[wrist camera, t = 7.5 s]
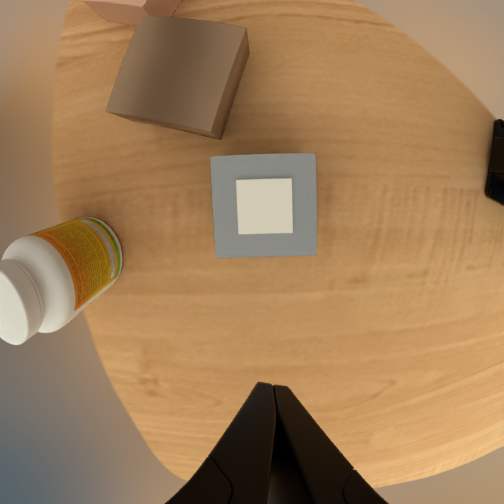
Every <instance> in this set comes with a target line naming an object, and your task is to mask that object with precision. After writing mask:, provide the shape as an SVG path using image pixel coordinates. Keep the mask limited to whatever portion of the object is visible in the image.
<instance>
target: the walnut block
mask: <svg viewBox="0 0 504 504" xmlns="http://www.w3.org/2000/svg"><path fill="white" fill-rule="evenodd" d="M248 56H249V46H248V37H247V28H245V27H240V26H235V25H229V24H223V23H217V22H210V21H203V20H194V19H185V18H174V17H159V16H142V17H141V19H140V22H139V24H138V26H137V28H136V30H135V33H134V35H133V37H132V40H131V42H130V44H129V47H128V49H127V52H126V54H125V57H124V59H123V62H122V65H121V67H120V70H119V73H118V75H117V78H116V81H115V84H114V87H113V90H112V93H111V96H110V99H109V102H108V106H107V109H106V112H109V113H112V114H114V115H117V116H120V117H123V118H126V119H129V120H131V121H135V122H141V123H146V124H151V125H157V126H162V127H166V128H171V129H176V130H181V131H185V132H189V133H194V134H198V135H202V136H206V137H211V138H215V139H219V140H221V139H222V135H223V132H224V129H225V126H226V122H227V119H228V116H229V113H230V110H231V107H232V104H233V101H234V97H235V94H236V91H237V88H238V85H239V82H240V79H241V76H242V74H243V71H244V68H245V65H246V62H247V59H248Z"/></svg>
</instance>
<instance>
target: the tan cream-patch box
mask: <svg viewBox="0 0 504 504" xmlns="http://www.w3.org/2000/svg"><path fill="white" fill-rule="evenodd" d="M82 1H83V2H84V3H86V4H87V5H88V6H89V7H91V8H92V9H93V10H94V11H95V12H97V13H98V14H99V15H100V16H101V17H103V18H104V19H105V20H106V21H109V22H115V23H122V24H127V25H133V26H138V24H139V22H140V19H141V17H142V16H159V17H171V16H172V15H173V13H174V12H175V10H176V9H177V7H178V6H179V4H180V3H181V1H182V0H82Z"/></svg>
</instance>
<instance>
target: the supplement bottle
mask: <svg viewBox="0 0 504 504" xmlns="http://www.w3.org/2000/svg"><path fill="white" fill-rule="evenodd" d="M121 268H122V250H121V246H120V243H119V240H118V238H117V237H116V235H115V233H114V232H113V231H112V229H111V228H110V227H109V226H108V225H107V224H105V223H104V222H103V221H101V220H99V219H96V218H93V217H81V218H77V219H74V220H71V221H68V222H65V223H62V224H59V225H56V226H53V227H50V228H47V229H44V230H41V231H39V232H36V233H33V234H30V235H27V236H24V237H22V238H20V239H17V240H15V241H14V242H13V243H11V244H10V246H9V247H8V248H7V249H6V251H5V253H4V255H3V257H2V260H0V337H1V338H2V339H3V340H4V341H6V342H8V343H10V344H14V345H19V344H22V343H23V342H25V341H26V340H27V339H29V338H30V337H31V336H33V335H34V334H35V333H37V331H38V332H42V333H50V332H54V331H56V330H59V329H60V328H62V327H63V326H64V325H66V324H67V323H68V322H69V321H71V320H72V319H73V318H74V317H75V316H76V315H77V314H79V313H80V312H81V311H82V310H83V309H84V308H86V307H87V306H88V305H89V304H90V303H92V302H93V301H94V300H95V299H96V298H98V297H99V296H100V295H101V294H102V293H104V292H105V291H106V290H107V289H108V288H109V287H110V286H112V285H113V284H114V283H115V281H116V280H117V278H118V277H119V274H120V272H121Z"/></svg>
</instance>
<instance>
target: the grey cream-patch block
mask: <svg viewBox="0 0 504 504" xmlns="http://www.w3.org/2000/svg"><path fill="white" fill-rule="evenodd" d="M210 163H211V184H212V203H213V220H214V236H215V251H216V258H238V257H274V256H308V255H316V246H317V196H316V154H315V153H284V154H249V155H228V156H213V157H210Z"/></svg>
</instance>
